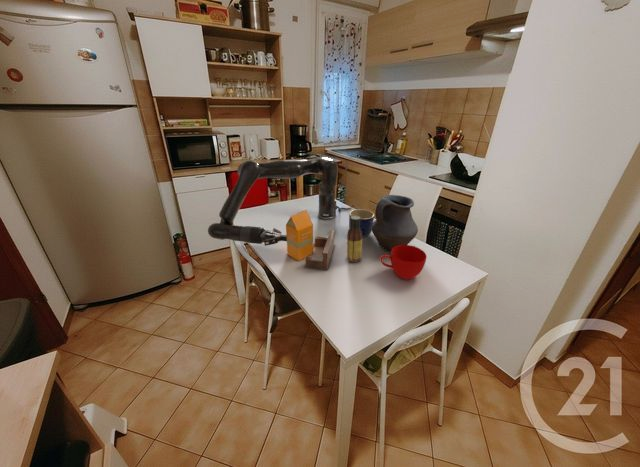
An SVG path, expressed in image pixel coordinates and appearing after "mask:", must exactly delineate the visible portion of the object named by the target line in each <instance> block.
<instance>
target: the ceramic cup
mask: <svg viewBox="0 0 640 467" xmlns="http://www.w3.org/2000/svg"><path fill="white" fill-rule="evenodd" d="M427 257H428V256H427V254H426V252H425V251H424V250H423V249H421V248H419V247H417V246H414V245H410V244H408V245H398V246H395V247H394V248H393V249H392V251H390V255H389V254H382V255H381V256H380V259H379V260H380V263H381V264H382V265H383V266H384V267H387V268H390V269H392V271H393V272H394V274H396V276H397V277H398V278H400V279H402V280H412V279H413V278H415V277H417V276H418V275H419V274H420V273H421V272H422V271H423V269H424V267H425V264H426V262H427ZM384 258H388V259H389V260H390V264H387V263H386V262H384V261H383V260H384Z"/></svg>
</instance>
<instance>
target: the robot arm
mask: <svg viewBox="0 0 640 467" xmlns="http://www.w3.org/2000/svg"><path fill="white" fill-rule="evenodd" d="M236 172H237V175H238V179H237V181H236V183H235V186H234V187H233V189H232V190H231V192H230V193H229V195H228V197H227V198H226V200H225V201H224V203H223V205H222V207H221V209H220V211H219V214H218V217H219V218H220V222H214V223H212V224H210V225H209V226H208V228H207V234H208V235H209V236H210V237H211V238H213V239H216V240H231V241H234V242H243V243H247V244H256V245H262V244H263V245H264V246H266V247H268V246H271V245H276V244H278V243H279V242H287V235H286V234H283V233H282V231H280V230H279V229H278V228H276V227H274V228H273V229H272V230H270V229H268V230H267V229H264V227H261V226H250V225H245V226H244V225H234V221H235V218H236V217H237V215H238V214H239V213H238V212H239V210H240V209H241V207H242V204H243V202H244V200H245V199H246V197H247V194H248V193H249V191H250V190H251V188H252V187H253V185H254V184H255V182H256V181H257V180H260V179H298V178H301V177H303V176H306V175H309V174H314V175H315V174H316V175H318V174H319V175H321V177H322V178H321V181H320V182H318V217H319V218H320V219H323V220H332V219H334V218H335V217H337V210H338V212H341V210H351V209H352V208H354V207H355V205H354V204H351V205H350V207H351V208H350V207H339V206H338V205H337V201H336V185H337V183H338V175H339V166H338V163H337V162H336V161H335V160H333V159H331V158H328V157H319V158H313V159H280V160H275V161H269V162H256V161H254V160H245V161H243V162H241V163H240V164H239V165H238V167H237V171H236Z"/></svg>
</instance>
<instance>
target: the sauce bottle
mask: <svg viewBox="0 0 640 467" xmlns="http://www.w3.org/2000/svg"><path fill="white" fill-rule="evenodd" d="M350 220H351V226H350V228H349V227H348V230H347V237H346V238H347V240H346V244H347V245H346V258H347V261H349V262H352V263H358V262H360V261H361V260H362V252H363V237H362V232H361V229H360V220H361V218H360V217H359V216H351V218H350Z"/></svg>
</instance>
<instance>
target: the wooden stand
mask: <svg viewBox="0 0 640 467" xmlns="http://www.w3.org/2000/svg"><path fill="white" fill-rule="evenodd" d="M335 232H336V231H335V230H329V234H328V236H327V237H324V236H315V237H314V247H323V251H322V258H320V257H311V256H307V257H305V268H306V269H313V270H322V271H323V270H325V271H328V268H329V265H330V263H331V262H330V261H331V258H332V255H333V251H334V248H335Z"/></svg>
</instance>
